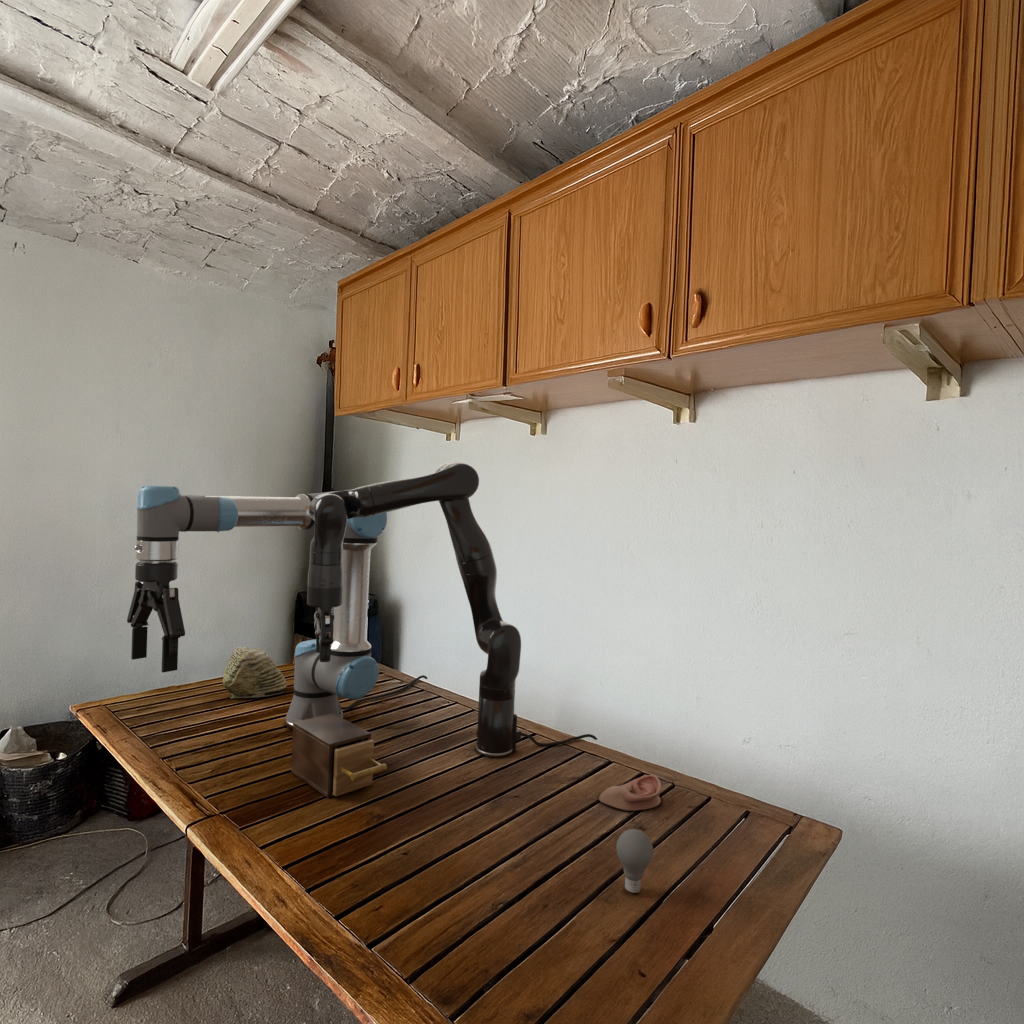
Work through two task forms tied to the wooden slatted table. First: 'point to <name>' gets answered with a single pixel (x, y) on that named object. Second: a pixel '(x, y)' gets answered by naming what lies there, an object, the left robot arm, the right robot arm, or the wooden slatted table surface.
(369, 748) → the drawer
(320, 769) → the cabinet
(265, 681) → the fossil
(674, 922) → the wooden slatted table surface
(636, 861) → the light bulb
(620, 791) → the anatomical model
